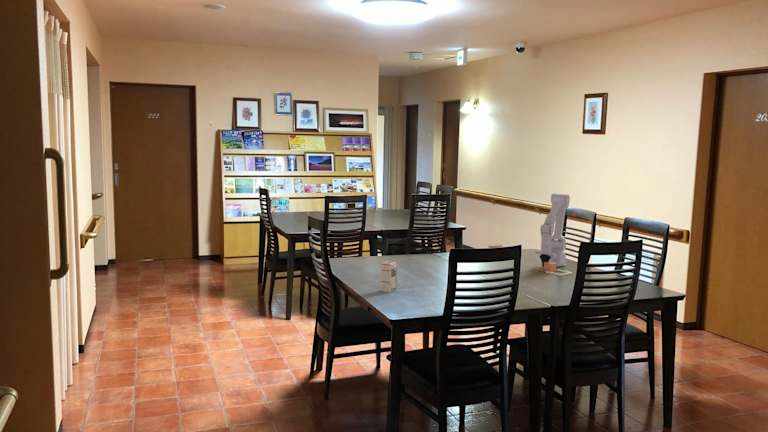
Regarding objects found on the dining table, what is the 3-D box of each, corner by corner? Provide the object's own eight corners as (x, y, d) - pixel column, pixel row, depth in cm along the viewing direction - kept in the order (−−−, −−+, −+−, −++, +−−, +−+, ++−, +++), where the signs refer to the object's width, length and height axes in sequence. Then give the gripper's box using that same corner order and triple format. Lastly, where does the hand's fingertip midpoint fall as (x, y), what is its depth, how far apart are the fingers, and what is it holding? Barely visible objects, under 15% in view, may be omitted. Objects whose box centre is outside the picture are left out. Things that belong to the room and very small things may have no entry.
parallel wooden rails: (541, 267, 377) (542, 264, 377) (556, 270, 368) (556, 268, 368) (532, 268, 372) (532, 266, 372) (547, 272, 364) (547, 269, 363)
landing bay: (558, 270, 369) (558, 269, 369) (572, 274, 361) (572, 272, 360) (545, 272, 363) (545, 270, 363) (560, 276, 354) (560, 274, 354)
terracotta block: (549, 269, 370) (549, 261, 370) (556, 271, 366) (556, 263, 366) (543, 270, 368) (544, 262, 367) (550, 272, 364) (550, 263, 363)
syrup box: (390, 292, 305) (391, 263, 303) (380, 291, 308) (380, 261, 306) (396, 290, 310) (397, 261, 308) (386, 288, 313) (387, 260, 311)
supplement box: (501, 265, 379) (502, 244, 378) (501, 267, 374) (503, 245, 373) (487, 265, 380) (488, 243, 378) (487, 266, 375) (489, 245, 374)
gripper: (532, 243, 372) (530, 265, 374) (551, 247, 360) (549, 270, 362) (540, 242, 376) (538, 264, 378) (559, 246, 364) (557, 269, 366)
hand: (544, 267), depth 370 cm, fingers closed
